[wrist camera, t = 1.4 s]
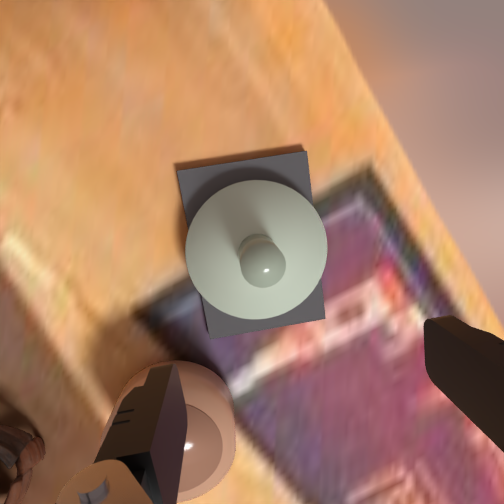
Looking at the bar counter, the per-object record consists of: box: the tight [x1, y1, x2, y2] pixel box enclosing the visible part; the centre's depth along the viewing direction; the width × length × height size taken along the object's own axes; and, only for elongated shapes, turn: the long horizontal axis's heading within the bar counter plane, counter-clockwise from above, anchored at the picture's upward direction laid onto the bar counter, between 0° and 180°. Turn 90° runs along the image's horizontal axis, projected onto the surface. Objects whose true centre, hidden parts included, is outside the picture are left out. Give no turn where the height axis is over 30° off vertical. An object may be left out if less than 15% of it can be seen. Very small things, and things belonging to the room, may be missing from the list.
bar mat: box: [177, 151, 326, 339], centre depth 28 cm, size 14×10×1 cm
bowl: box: [100, 361, 236, 503], centre depth 28 cm, size 10×10×5 cm
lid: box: [185, 180, 327, 319], centre depth 25 cm, size 11×11×5 cm
